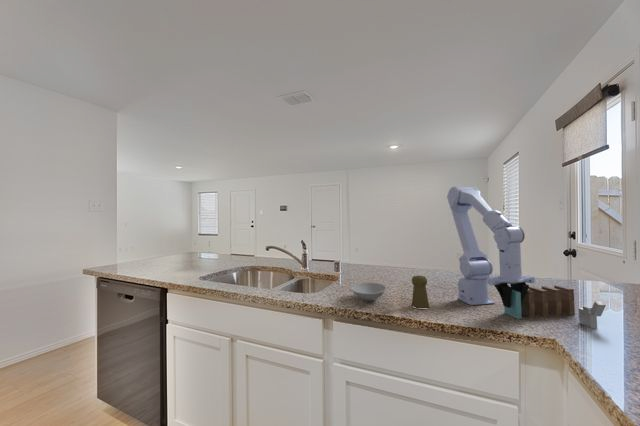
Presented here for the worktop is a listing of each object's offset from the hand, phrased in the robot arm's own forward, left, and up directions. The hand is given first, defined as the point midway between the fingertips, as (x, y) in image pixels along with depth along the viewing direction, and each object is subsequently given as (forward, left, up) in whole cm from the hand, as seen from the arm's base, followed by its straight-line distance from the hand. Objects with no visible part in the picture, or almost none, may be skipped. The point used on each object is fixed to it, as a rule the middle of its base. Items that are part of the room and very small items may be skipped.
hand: (512, 306), depth 87 cm
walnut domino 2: (+9, 0, -3) cm, 9 cm away
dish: (-40, +24, -3) cm, 47 cm away
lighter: (+14, -12, -3) cm, 18 cm away
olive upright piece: (-24, +13, -3) cm, 28 cm away
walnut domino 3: (+14, 0, -3) cm, 14 cm away
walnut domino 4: (+18, 0, -3) cm, 18 cm away
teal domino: (0, 0, -3) cm, 3 cm away
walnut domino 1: (+4, 0, -3) cm, 5 cm away
